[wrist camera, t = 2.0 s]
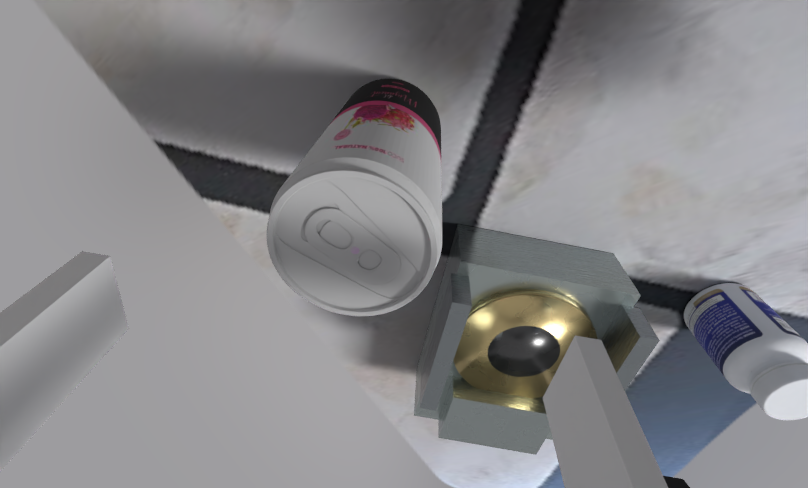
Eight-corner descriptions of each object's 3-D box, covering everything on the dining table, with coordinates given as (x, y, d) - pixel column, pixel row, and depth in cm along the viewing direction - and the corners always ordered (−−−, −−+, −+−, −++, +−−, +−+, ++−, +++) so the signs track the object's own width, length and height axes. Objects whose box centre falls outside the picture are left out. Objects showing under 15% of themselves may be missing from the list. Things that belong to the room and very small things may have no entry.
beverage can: (384, 53, 26) (331, 123, 13) (461, 125, 28) (481, 248, 15) (323, 133, 28) (229, 253, 16) (396, 193, 30) (366, 344, 18)
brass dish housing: (452, 222, 31) (456, 289, 25) (618, 254, 32) (667, 328, 25) (412, 368, 40) (407, 447, 33) (544, 392, 40) (565, 475, 33)
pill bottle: (679, 335, 35) (744, 430, 28) (684, 286, 33) (757, 376, 25) (749, 327, 34) (837, 423, 27) (761, 275, 32) (860, 366, 24)
